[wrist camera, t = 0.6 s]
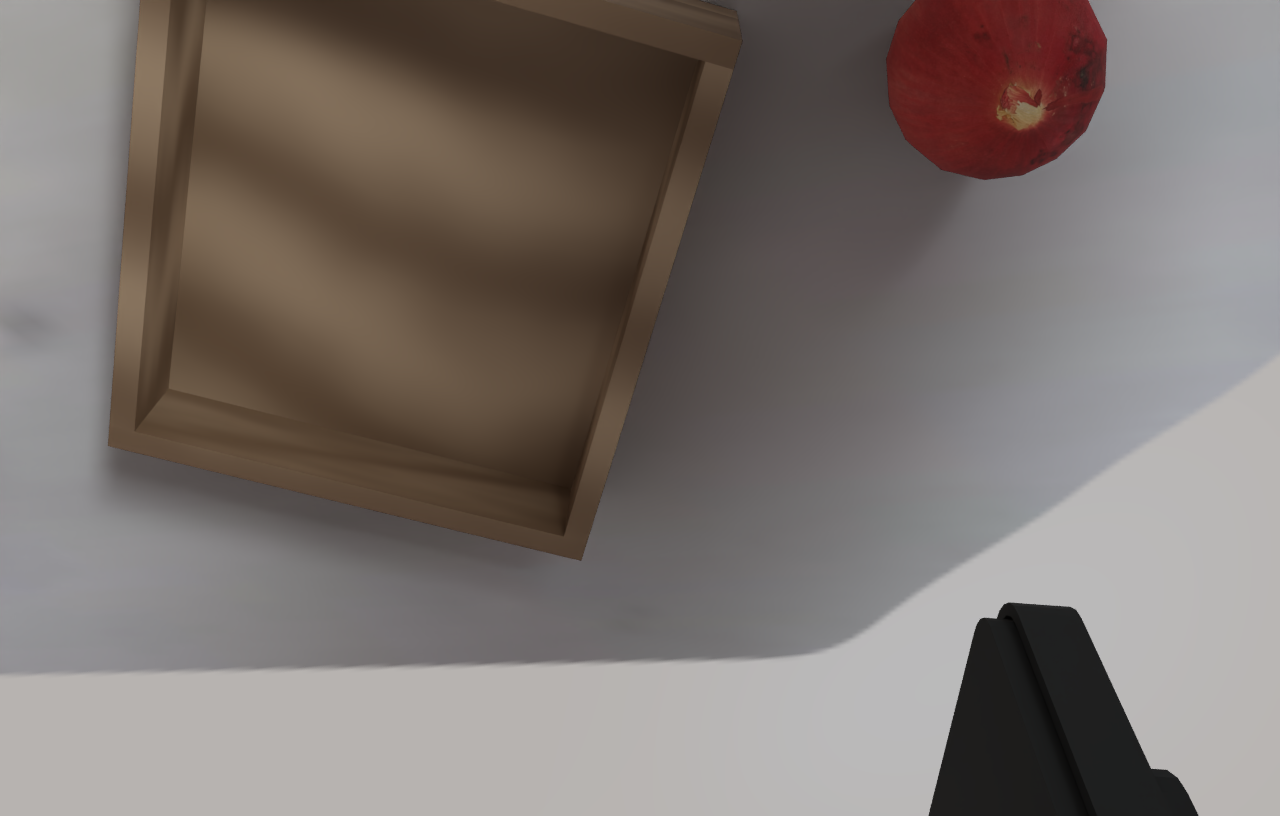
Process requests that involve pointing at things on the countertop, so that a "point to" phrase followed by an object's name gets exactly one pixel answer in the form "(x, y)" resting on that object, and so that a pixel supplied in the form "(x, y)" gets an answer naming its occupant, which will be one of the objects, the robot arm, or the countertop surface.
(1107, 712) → the robot arm
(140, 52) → the holder tray
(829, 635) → the countertop surface
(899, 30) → the onion
